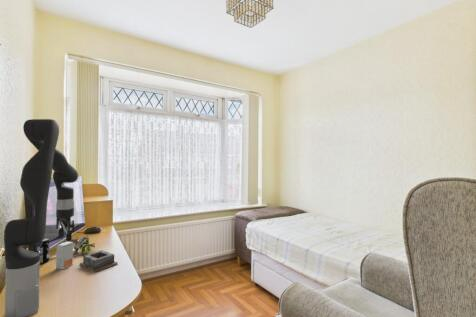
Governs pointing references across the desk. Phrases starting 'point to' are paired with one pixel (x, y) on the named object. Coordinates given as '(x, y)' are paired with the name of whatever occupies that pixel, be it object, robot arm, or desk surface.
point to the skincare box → (64, 255)
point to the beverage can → (44, 250)
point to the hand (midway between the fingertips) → (64, 239)
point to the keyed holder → (98, 261)
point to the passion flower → (81, 242)
